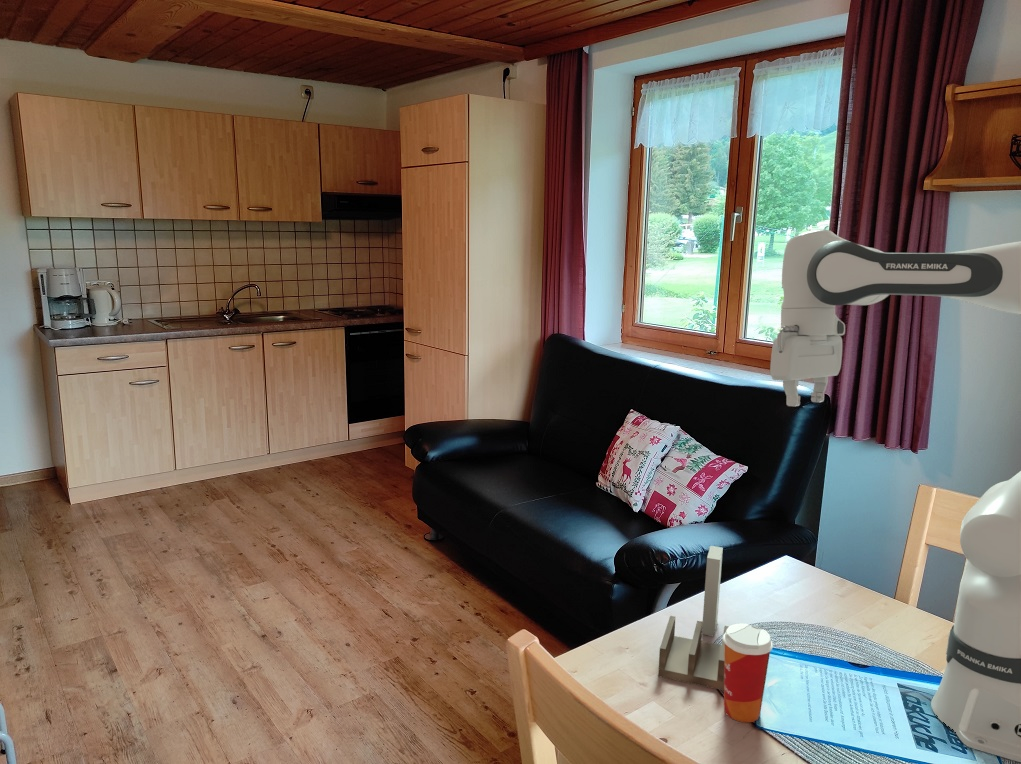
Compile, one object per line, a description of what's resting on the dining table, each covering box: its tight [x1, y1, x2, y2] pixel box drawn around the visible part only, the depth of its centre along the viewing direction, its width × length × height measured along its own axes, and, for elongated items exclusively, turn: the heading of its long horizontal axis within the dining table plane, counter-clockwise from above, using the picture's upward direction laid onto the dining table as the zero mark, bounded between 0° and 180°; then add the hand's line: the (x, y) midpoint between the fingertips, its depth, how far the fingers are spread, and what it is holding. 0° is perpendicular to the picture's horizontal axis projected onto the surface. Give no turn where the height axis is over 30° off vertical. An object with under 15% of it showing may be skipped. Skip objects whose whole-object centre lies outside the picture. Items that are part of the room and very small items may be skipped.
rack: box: [657, 615, 729, 691], centre depth 135 cm, size 16×12×6 cm
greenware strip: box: [702, 545, 724, 637], centre depth 147 cm, size 2×6×16 cm, turn 160°
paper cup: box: [722, 623, 774, 724], centre depth 122 cm, size 8×8×14 cm
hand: (805, 404), depth 132 cm, fingers open, 8 cm apart
